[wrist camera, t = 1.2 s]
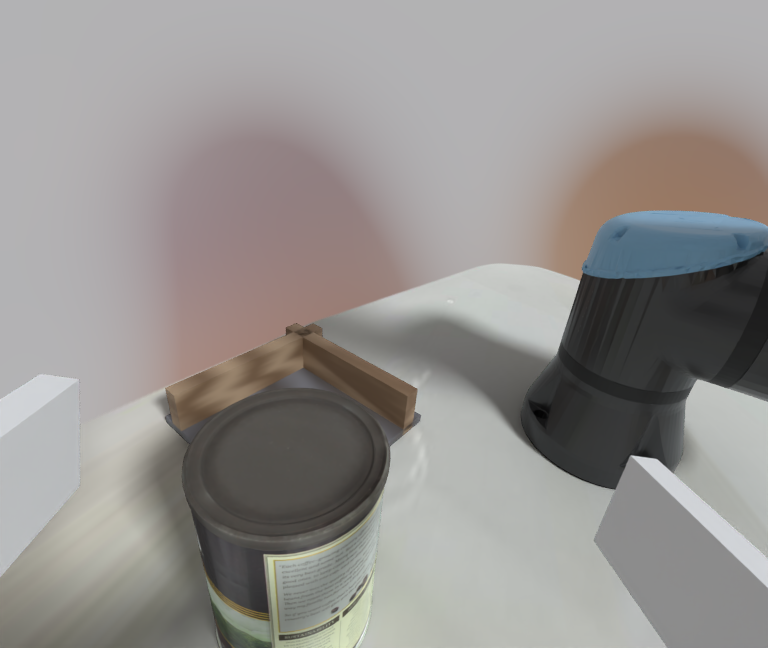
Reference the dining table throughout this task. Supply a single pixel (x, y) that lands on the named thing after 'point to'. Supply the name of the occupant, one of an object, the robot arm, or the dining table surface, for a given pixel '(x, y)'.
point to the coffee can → (289, 517)
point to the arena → (293, 382)
